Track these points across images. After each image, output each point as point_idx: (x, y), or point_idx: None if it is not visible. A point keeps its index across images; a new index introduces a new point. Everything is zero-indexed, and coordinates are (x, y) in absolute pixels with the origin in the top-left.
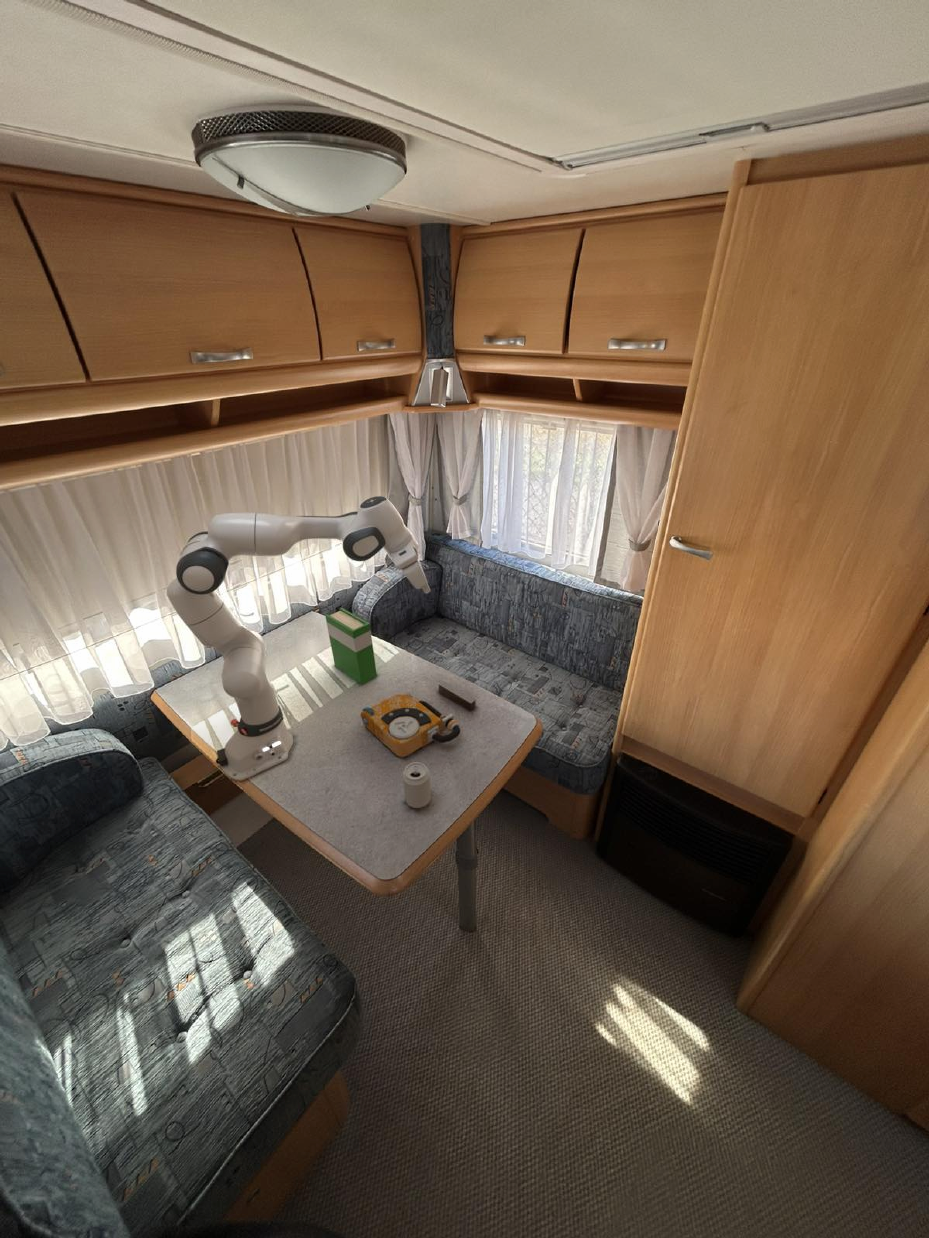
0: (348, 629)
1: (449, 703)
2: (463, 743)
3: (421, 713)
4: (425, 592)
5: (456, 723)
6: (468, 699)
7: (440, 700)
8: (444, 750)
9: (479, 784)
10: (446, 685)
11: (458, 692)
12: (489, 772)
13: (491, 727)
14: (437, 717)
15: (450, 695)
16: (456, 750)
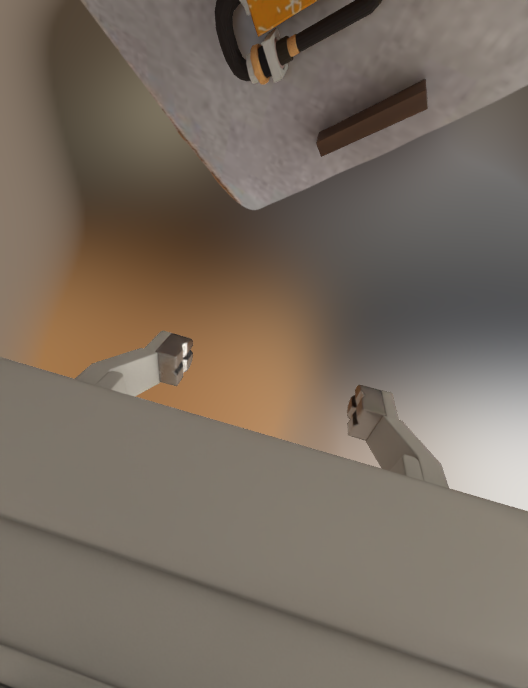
0: None
1: (367, 90)
2: None
3: None
4: (159, 336)
5: (252, 78)
6: (329, 143)
7: (392, 68)
8: None
9: (136, 57)
10: (406, 111)
11: (363, 131)
12: (164, 93)
13: (264, 150)
14: (268, 25)
15: (379, 106)
16: None
